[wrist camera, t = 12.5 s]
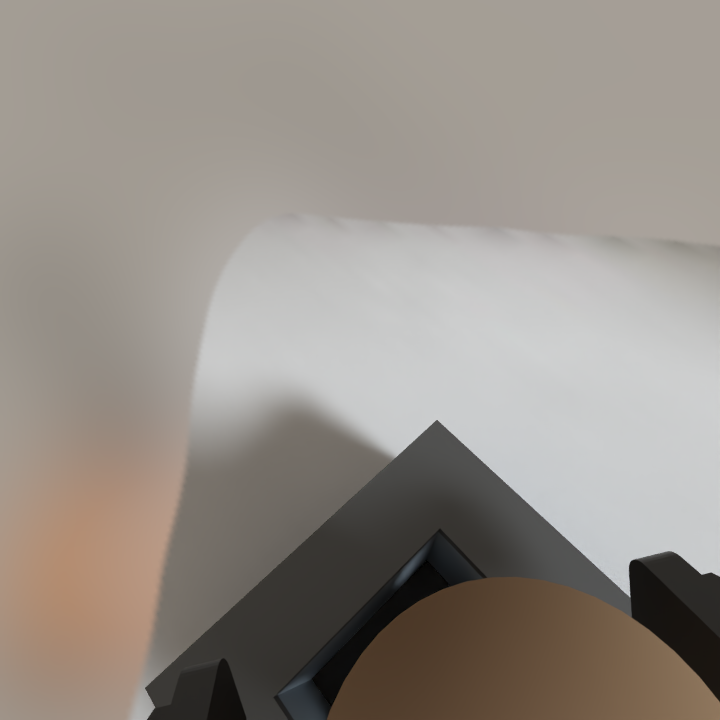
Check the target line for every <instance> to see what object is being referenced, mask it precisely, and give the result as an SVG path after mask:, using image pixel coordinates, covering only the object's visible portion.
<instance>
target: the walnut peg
mask: <svg viewBox="0 0 720 720" xmlns="http://www.w3.org/2000/svg"><path fill="white" fill-rule="evenodd" d="M327 720H720V702H719V701H718V699H717V698H716V697H715V696H714V694H713V693H712V692H711V691H710V689H709V688H708V687H707V686H706V684H705V683H704V682H703V681H702V679H701V678H700V677H699V676H698V675H697V674H696V673H695V672H694V671H693V670H692V669H691V668H690V667H689V666H688V665H687V664H686V663H685V662H684V661H683V659H682V658H681V657H680V656H679V655H678V654H677V653H676V652H675V651H674V650H672V649H671V648H670V647H669V646H668V645H667V644H665V643H664V642H663V641H662V640H661V639H659V638H658V637H657V636H656V635H655V634H653V633H652V632H651V631H650V630H649V629H647V628H646V627H644V626H643V625H641V624H640V623H639V622H637V621H636V620H634V619H633V618H631V617H630V616H628V615H627V614H625V613H624V612H622V611H621V610H619V609H617V608H615V607H613V606H611V605H609V604H608V603H606V602H604V601H602V600H600V599H598V598H596V597H594V596H591V595H589V594H586V593H584V592H581V591H579V590H576V589H574V588H571V587H568V586H564V585H560V584H556V583H552V582H548V581H545V580H539V579H530V578H522V577H491V578H485V579H479V580H472V581H466V582H463V583H460V584H457V585H454V586H451V587H448V588H445V589H442V590H440V591H438V592H436V593H434V594H432V595H430V596H428V597H426V598H424V599H422V600H420V601H418V602H417V603H415V604H414V605H412V606H411V607H410V608H408V609H407V610H405V611H404V612H402V613H401V614H399V615H398V616H397V617H396V618H395V619H394V620H393V621H392V622H390V623H389V624H388V625H387V626H386V627H385V628H384V629H383V630H382V631H381V632H380V633H379V634H378V635H377V636H376V637H375V638H374V640H373V641H372V642H371V643H370V644H369V646H368V647H367V648H366V649H365V650H364V652H363V653H362V654H361V655H360V657H359V658H358V660H357V661H356V663H355V665H354V666H353V668H352V669H351V671H350V672H349V674H348V676H347V677H346V679H345V680H344V682H343V684H342V686H341V688H340V691H339V693H338V695H337V697H336V699H335V701H334V703H333V705H332V707H331V709H330V712H329V715H328V718H327Z"/></svg>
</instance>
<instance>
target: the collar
mask: <svg viewBox="0 0 720 720" xmlns="http://www.w3.org/2000/svg"><path fill="white" fill-rule="evenodd" d="M426 560H427V561H428V562H429V563H430V564H431V565H432V566H433V567H434V568H435V569H436V570H437V571H438V573H439V574H440V575H441V576H442V577H443V578H444V579H445V580H446V581H447V582H448V583H449V585H450V586H454V585H457V584H460V583H463V582H466V581H472V580H479V579H485V578H491V577H522V578H530V579H539V580H545V581H548V582H552V583H556V584H560V585H564V586H568V587H571V588H574V589H576V590H579V591H581V592H584V593H586V594H589V595H591V596H594V597H596V598H598V599H600V600H602V601H604V602H606V603H608V604H609V605H611V606H613V607H615V608H617V609H619V610H621V611H622V612H624V613H625V614H627V615H628V616H630V617H631V618H632V613H631V598H630V597H629V596H628V595H626V594H625V593H624V592H623V591H622V590H621V589H620V588H619V587H618V586H617V585H616V584H615V583H613V582H612V581H611V580H610V579H609V578H608V577H607V576H606V575H605V574H604V573H603V572H601V571H600V570H599V569H598V568H597V567H596V566H595V565H594V564H593V563H592V562H591V561H590V560H588V559H587V558H586V557H585V556H584V555H583V554H582V553H581V552H580V551H579V550H578V549H577V548H575V547H574V546H573V545H572V544H571V543H570V542H569V541H568V540H567V539H566V538H565V537H563V536H562V535H561V534H560V533H559V532H558V531H557V530H556V529H555V528H554V527H553V526H552V525H550V524H549V523H548V522H547V521H546V520H545V519H544V518H543V517H542V516H541V515H540V514H539V513H537V512H536V511H535V510H534V509H533V508H532V507H531V506H530V505H529V504H528V503H527V502H525V501H524V500H523V499H522V498H521V497H520V496H519V495H518V494H517V493H516V492H515V491H514V490H512V489H511V488H510V487H509V486H508V485H507V484H506V483H505V482H504V481H503V480H502V479H501V478H499V477H498V476H497V475H496V474H495V473H494V472H493V471H492V470H491V469H490V468H489V467H487V466H486V465H485V464H484V463H483V462H482V461H481V460H480V459H479V458H478V457H477V456H476V455H474V454H473V453H472V452H471V451H470V450H469V449H468V448H467V447H466V446H465V445H464V444H462V443H461V442H460V441H459V440H458V439H457V438H456V437H455V436H454V435H453V434H452V433H451V432H449V431H448V430H447V429H446V428H445V427H444V426H443V425H442V424H441V423H440V422H439V421H438V420H436V421H435V422H434V423H433V424H432V425H431V426H430V427H429V428H428V429H427V430H425V431H424V432H423V433H422V434H421V435H420V436H419V437H418V438H417V439H416V440H415V441H413V442H412V443H411V444H410V445H409V446H408V447H407V448H406V449H405V450H404V451H403V452H402V453H400V454H399V455H398V456H397V457H396V458H395V459H394V460H393V461H392V462H391V463H390V464H388V465H387V466H386V467H385V468H384V469H383V470H382V471H381V472H380V473H379V474H378V475H376V476H375V477H374V478H373V479H372V480H371V481H370V482H369V483H368V484H367V485H366V486H364V487H363V488H362V489H361V490H360V491H359V492H358V493H357V494H356V495H355V496H354V497H353V498H351V499H350V500H349V501H348V502H347V503H346V504H345V505H344V506H343V507H342V508H341V509H339V510H338V511H337V512H336V513H335V514H334V515H333V516H332V517H331V518H330V519H329V520H327V521H326V522H325V523H324V524H323V525H322V526H321V527H320V528H319V529H318V530H317V531H315V532H314V533H313V534H312V535H311V536H310V537H309V538H308V539H307V540H306V541H305V542H303V543H302V544H301V545H300V546H299V547H298V548H297V549H296V550H295V551H294V552H293V553H292V554H290V555H289V556H288V557H287V558H286V559H285V560H284V561H283V562H282V563H281V564H280V565H278V566H277V567H276V568H275V569H274V570H273V571H272V572H271V573H270V574H269V575H268V576H266V577H265V578H264V579H263V580H262V581H261V582H260V583H259V584H258V585H257V586H256V587H254V588H253V589H252V590H251V591H250V592H249V593H248V594H247V595H246V596H245V597H244V598H243V599H241V600H240V601H239V602H238V603H237V604H236V605H235V606H234V607H233V608H232V609H231V610H229V611H228V612H227V613H226V614H225V615H224V616H223V617H222V618H221V619H220V620H219V621H217V622H216V623H215V624H214V625H213V626H212V627H211V628H210V629H209V630H208V631H207V632H205V633H204V634H203V635H202V636H201V637H200V638H199V639H198V640H197V641H196V642H195V643H194V644H192V645H191V646H190V647H189V648H188V649H187V650H186V651H185V652H184V653H183V654H182V655H180V656H179V657H178V658H177V659H176V660H175V661H174V662H173V663H172V664H171V665H170V666H168V667H167V668H166V669H165V670H164V671H163V672H162V673H161V674H160V675H159V676H158V677H156V678H155V679H154V680H153V681H152V682H151V683H150V684H149V685H148V686H147V687H146V688H145V689H146V691H147V693H148V695H149V696H150V698H151V700H152V702H153V704H154V706H155V708H158V707H162V706H166V705H170V704H171V702H172V698H173V695H174V692H175V688H176V685H177V682H178V678H179V675H180V673H181V671H182V670H183V669H184V668H185V667H189V666H193V665H198V664H202V663H206V662H210V661H214V660H218V659H222V658H224V659H226V660H227V662H228V664H229V667H230V670H231V673H232V676H233V679H234V682H235V685H236V688H237V691H238V694H239V697H240V700H241V703H242V706H243V709H244V712H245V715H246V718H247V720H327V718H328V715H329V712H330V709H331V706H330V705H329V703H328V702H327V700H326V699H325V698H324V696H323V695H322V693H321V692H320V691H319V689H318V688H317V686H316V685H315V683H314V682H313V681H312V678H313V677H314V676H315V675H316V674H317V673H318V672H319V671H320V670H321V669H322V668H323V667H324V666H325V665H326V664H327V663H328V661H329V660H330V659H331V658H332V657H333V656H334V655H335V654H336V653H337V652H338V651H339V650H340V649H341V648H342V647H343V646H344V645H345V644H346V643H347V642H348V641H349V640H350V639H351V638H352V637H353V636H354V635H355V634H356V633H357V632H358V631H359V630H360V628H361V627H362V626H363V625H364V624H365V623H366V622H367V621H368V620H369V619H370V618H371V617H372V616H373V615H374V614H375V613H376V612H377V611H378V610H379V609H380V608H381V607H382V606H383V605H384V604H385V603H386V602H387V601H388V600H389V599H390V598H391V597H392V595H393V594H394V593H395V592H396V591H397V590H398V589H399V588H400V587H401V586H402V585H403V584H404V583H405V582H406V581H407V580H408V579H409V578H410V577H411V576H412V575H413V574H414V573H415V572H416V571H417V570H418V569H419V568H420V567H421V566H422V565H423V564H424V562H425V561H426Z"/></svg>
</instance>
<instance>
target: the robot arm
mask: <svg viewBox="0 0 720 720" xmlns="http://www.w3.org/2000/svg"><path fill="white" fill-rule="evenodd" d="M629 578H630V595H631V613H632V618H633V619H634V620H636V621H637V622H639V623H640V624H641V625H643V626H644V627H646V628H647V629H649V630H650V631H651V632H652V633H653V634H655V635H656V636H657V637H658V638H659V639H661V640H662V641H663V642H664V643H665V644H667V645H668V646H669V647H670V648H671V649H672V650H674V651H675V652H676V653H677V654H678V655H679V656H680V657H681V658H682V659H683V661H684V662H685V663H686V664H687V665H688V666H689V667H690V668H691V669H692V670H693V671H694V672H695V673H696V674H697V675H698V676H699V677H700V678H701V679H702V681H703V682H704V683H705V684H706V686H707V687H708V688H709V689H710V691H711V692H712V693H713V694H714V696H715V697H716V698H717V699H718V701H719V702H720V577H719V576H717V575H715V574H713V573H707V574H703V575H701V574H700V573H699V572H698V571H697V570H695V569H694V568H693V567H692V566H691V565H690V564H688V563H687V562H686V561H685V560H684V559H683V558H681V557H680V556H679V555H678V554H676V553H674V552H671V551H668V552H664V553H660V554H656V555H651V556H647V557H643V558H639V559H635V560H632V561H631V562H630V565H629ZM147 720H247V718H246V715H245V712H244V709H243V706H242V703H241V700H240V697H239V694H238V691H237V688H236V685H235V682H234V679H233V676H232V673H231V670H230V667H229V664H228V662H227V660H226V659H224V658H222V659H218V660H214V661H210V662H206V663H202V664H198V665H193V666H189V667H185V668H184V669H183V670H182V671H181V673H180V675H179V678H178V682H177V685H176V688H175V692H174V695H173V698H172V702H171V704H170V705H166V706H162V707H158V708H155V709H154V710H153V712H152V713H151V715H150V716H149V718H148V719H147Z"/></svg>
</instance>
